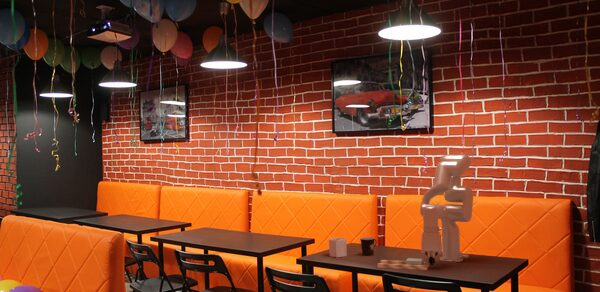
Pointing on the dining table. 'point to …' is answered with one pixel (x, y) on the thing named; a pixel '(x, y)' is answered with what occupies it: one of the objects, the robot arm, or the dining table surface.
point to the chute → (401, 265)
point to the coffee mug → (367, 246)
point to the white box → (337, 247)
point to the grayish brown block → (414, 261)
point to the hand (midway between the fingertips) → (431, 264)
